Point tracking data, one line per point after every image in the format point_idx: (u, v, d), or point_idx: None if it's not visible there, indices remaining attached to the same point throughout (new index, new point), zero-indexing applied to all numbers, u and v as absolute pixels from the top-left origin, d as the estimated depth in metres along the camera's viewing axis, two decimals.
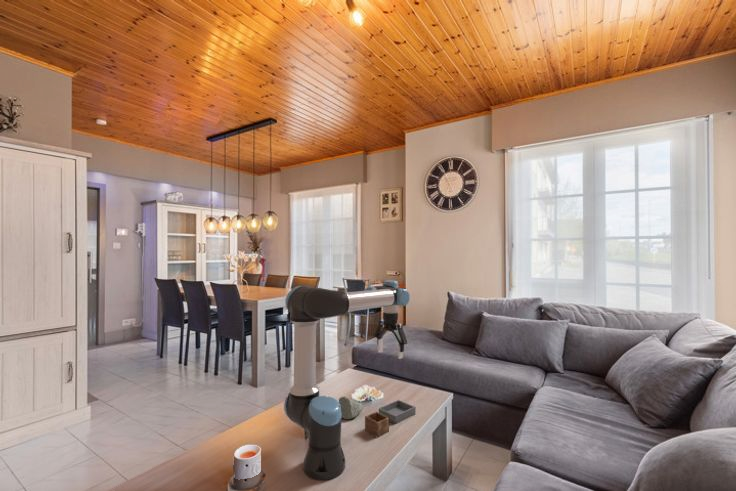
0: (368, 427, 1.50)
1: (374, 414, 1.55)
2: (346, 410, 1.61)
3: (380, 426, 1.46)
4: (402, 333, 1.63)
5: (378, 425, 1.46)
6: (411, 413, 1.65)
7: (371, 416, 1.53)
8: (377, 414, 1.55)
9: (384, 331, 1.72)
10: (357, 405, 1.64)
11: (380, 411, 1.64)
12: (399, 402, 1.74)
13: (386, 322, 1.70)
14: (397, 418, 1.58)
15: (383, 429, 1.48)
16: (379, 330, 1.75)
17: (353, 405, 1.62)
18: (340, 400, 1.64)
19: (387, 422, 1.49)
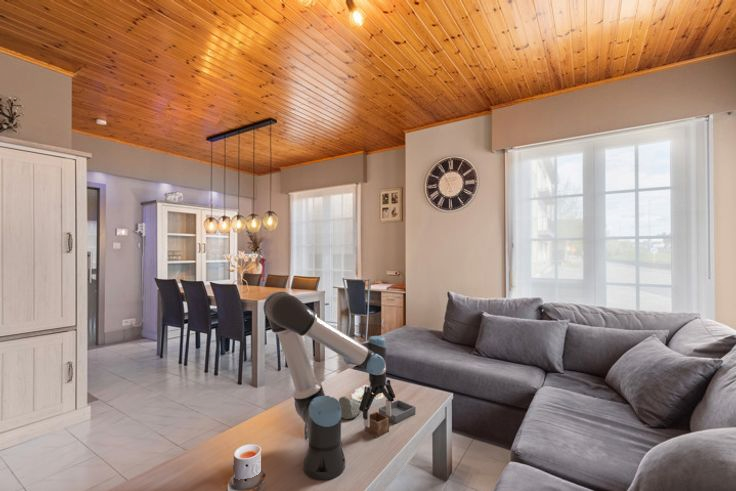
0: (368, 427, 1.50)
1: (374, 414, 1.55)
2: (346, 410, 1.61)
3: (380, 426, 1.46)
4: (364, 398, 1.46)
5: (378, 425, 1.46)
6: (411, 413, 1.65)
7: (371, 416, 1.53)
8: (377, 414, 1.55)
9: (383, 392, 1.54)
10: (357, 405, 1.64)
11: (380, 411, 1.64)
12: (399, 402, 1.74)
13: None
14: (397, 418, 1.58)
15: (383, 429, 1.48)
16: (388, 390, 1.56)
17: (353, 405, 1.62)
18: (340, 400, 1.64)
19: (387, 422, 1.49)
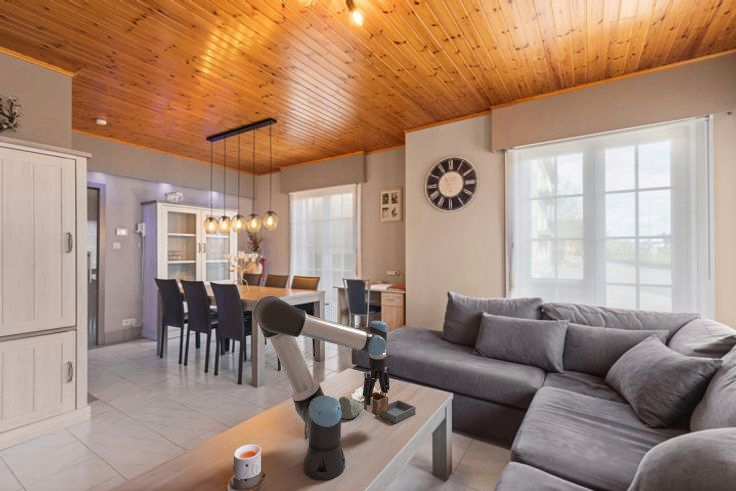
0: None
1: (373, 394, 1.54)
2: (346, 410, 1.61)
3: (379, 404, 1.46)
4: (365, 384, 1.47)
5: (377, 403, 1.46)
6: (411, 413, 1.65)
7: None
8: (376, 394, 1.55)
9: (379, 380, 1.53)
10: (357, 405, 1.64)
11: None
12: (399, 402, 1.74)
13: None
14: (397, 418, 1.58)
15: (382, 407, 1.48)
16: (385, 380, 1.55)
17: (353, 405, 1.62)
18: (340, 400, 1.64)
19: (386, 401, 1.49)
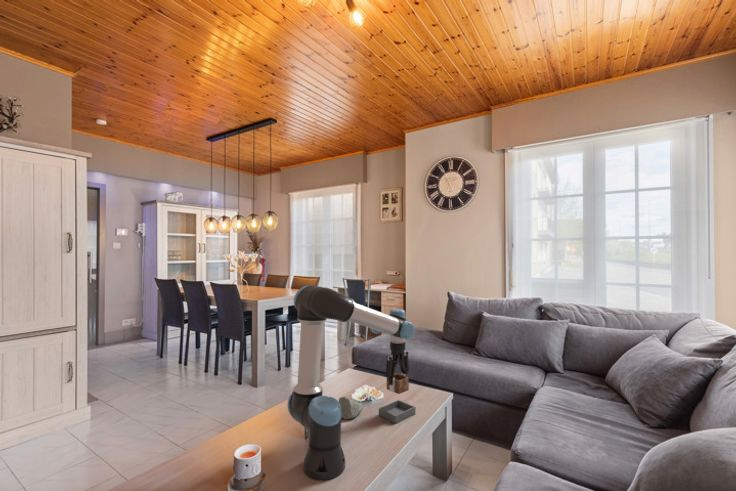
0: (389, 385, 1.65)
1: (394, 375, 1.70)
2: (346, 410, 1.61)
3: (401, 384, 1.62)
4: (388, 366, 1.62)
5: (399, 383, 1.61)
6: (411, 413, 1.65)
7: None
8: (397, 375, 1.70)
9: (400, 362, 1.68)
10: (357, 405, 1.64)
11: (380, 411, 1.64)
12: (399, 402, 1.74)
13: None
14: (397, 418, 1.58)
15: (404, 387, 1.63)
16: (404, 362, 1.70)
17: (353, 405, 1.62)
18: (340, 400, 1.64)
19: (406, 381, 1.65)
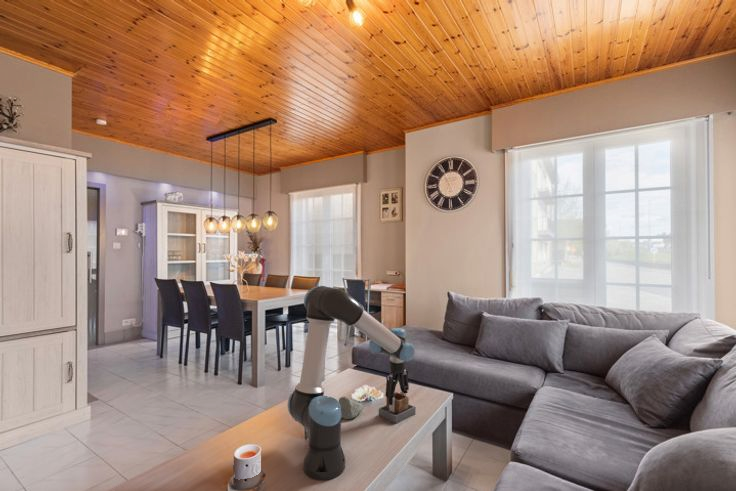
0: None
1: (394, 394, 1.70)
2: (346, 410, 1.61)
3: (400, 404, 1.62)
4: (387, 386, 1.62)
5: (399, 403, 1.61)
6: (411, 413, 1.65)
7: None
8: (397, 394, 1.70)
9: (400, 381, 1.68)
10: (357, 405, 1.64)
11: (380, 411, 1.64)
12: None
13: None
14: (397, 418, 1.58)
15: (403, 406, 1.63)
16: (404, 381, 1.70)
17: (353, 405, 1.62)
18: (340, 400, 1.64)
19: (406, 401, 1.65)
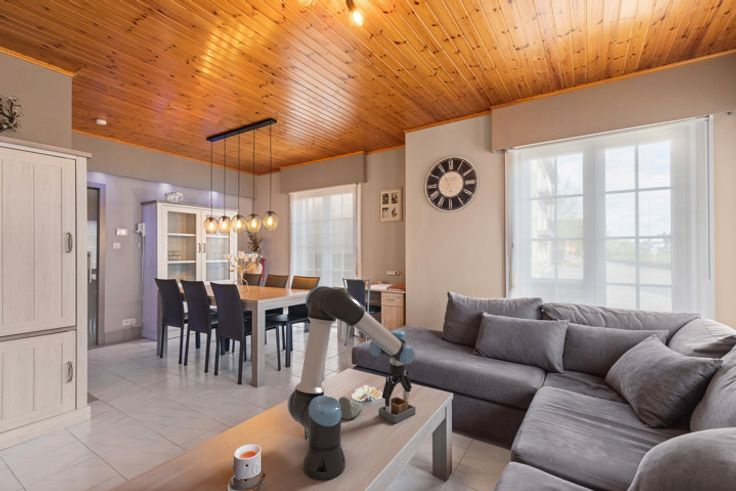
0: None
1: (394, 399, 1.70)
2: (346, 410, 1.61)
3: (400, 408, 1.62)
4: (386, 387, 1.61)
5: (399, 408, 1.61)
6: (411, 413, 1.65)
7: (391, 400, 1.68)
8: (397, 399, 1.70)
9: (401, 382, 1.69)
10: (357, 405, 1.64)
11: (380, 411, 1.64)
12: None
13: None
14: (397, 418, 1.58)
15: (403, 411, 1.63)
16: (406, 381, 1.71)
17: (353, 405, 1.62)
18: (340, 400, 1.64)
19: (406, 405, 1.65)
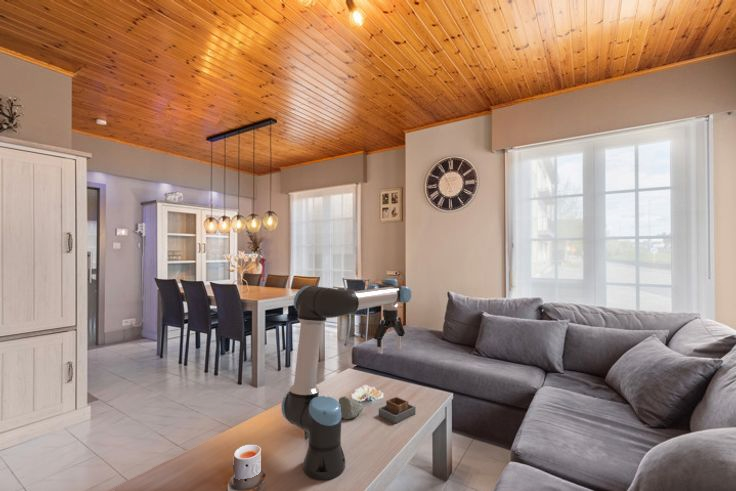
0: (389, 410, 1.65)
1: (394, 399, 1.70)
2: (346, 410, 1.61)
3: (400, 408, 1.62)
4: (378, 329, 1.70)
5: (399, 408, 1.61)
6: (411, 413, 1.65)
7: (391, 400, 1.68)
8: (397, 399, 1.70)
9: (394, 328, 1.78)
10: (357, 405, 1.64)
11: (380, 411, 1.64)
12: None
13: None
14: (397, 418, 1.58)
15: (403, 411, 1.63)
16: (399, 327, 1.80)
17: (353, 405, 1.62)
18: (340, 400, 1.64)
19: (406, 405, 1.65)
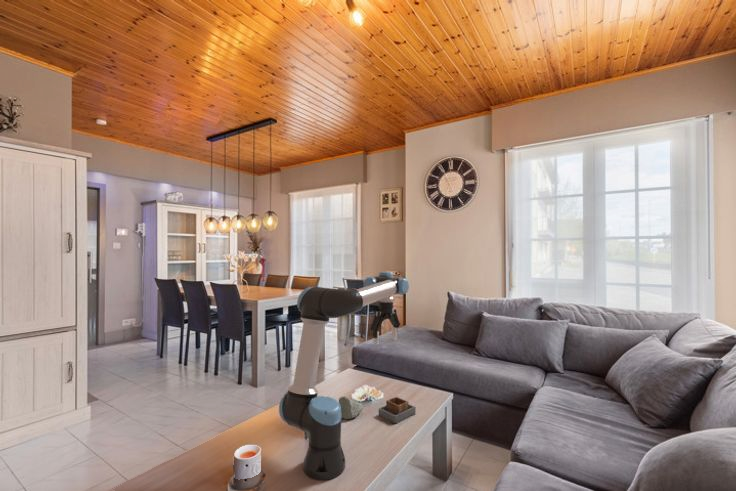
0: (389, 410, 1.65)
1: (394, 399, 1.70)
2: (346, 410, 1.61)
3: (400, 408, 1.62)
4: (374, 320, 1.74)
5: (399, 408, 1.61)
6: (411, 413, 1.65)
7: (391, 400, 1.68)
8: (397, 399, 1.70)
9: (390, 319, 1.83)
10: (357, 405, 1.64)
11: (380, 411, 1.64)
12: None
13: None
14: (397, 418, 1.58)
15: (403, 411, 1.63)
16: (394, 319, 1.85)
17: (353, 405, 1.62)
18: (340, 400, 1.64)
19: (406, 405, 1.65)
